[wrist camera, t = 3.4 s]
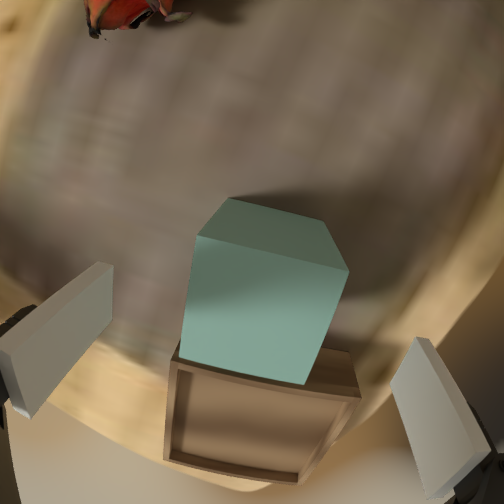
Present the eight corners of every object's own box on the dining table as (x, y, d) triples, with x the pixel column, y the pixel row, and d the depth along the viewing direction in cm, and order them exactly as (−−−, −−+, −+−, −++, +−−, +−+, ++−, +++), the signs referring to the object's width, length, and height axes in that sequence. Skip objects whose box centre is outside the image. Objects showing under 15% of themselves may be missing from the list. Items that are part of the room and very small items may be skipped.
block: (228, 197, 20) (196, 235, 12) (323, 220, 20) (349, 271, 12) (210, 284, 22) (178, 357, 14) (297, 304, 22) (304, 385, 14)
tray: (190, 317, 23) (170, 360, 18) (349, 352, 23) (361, 398, 18) (176, 419, 27) (163, 459, 22) (300, 444, 27) (301, 485, 22)
